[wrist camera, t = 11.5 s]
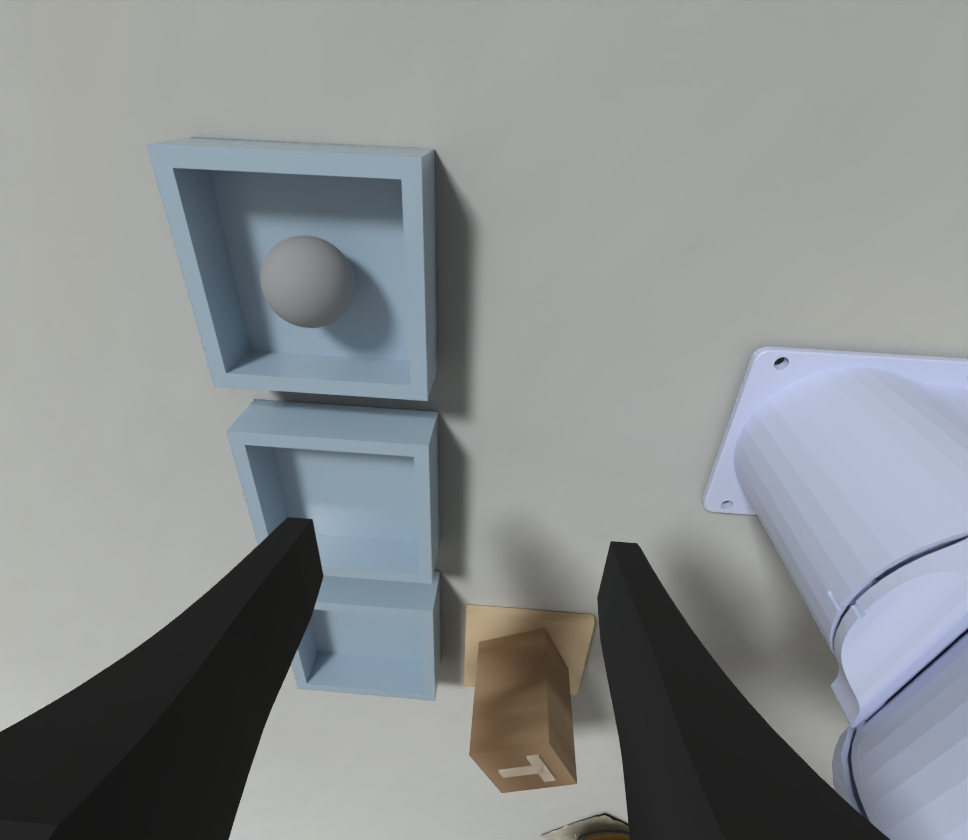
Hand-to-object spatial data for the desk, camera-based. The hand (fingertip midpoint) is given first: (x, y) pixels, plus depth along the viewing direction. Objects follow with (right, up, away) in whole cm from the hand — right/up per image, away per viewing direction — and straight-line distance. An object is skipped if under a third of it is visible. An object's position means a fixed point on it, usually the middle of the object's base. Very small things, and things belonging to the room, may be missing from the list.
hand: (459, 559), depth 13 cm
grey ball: (-5, +9, +6) cm, 12 cm away
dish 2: (-6, +1, +12) cm, 13 cm away
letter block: (+3, -10, +17) cm, 20 cm away
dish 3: (-6, -8, +17) cm, 20 cm away
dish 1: (-5, +9, +6) cm, 12 cm away
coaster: (+3, -10, +18) cm, 21 cm away
